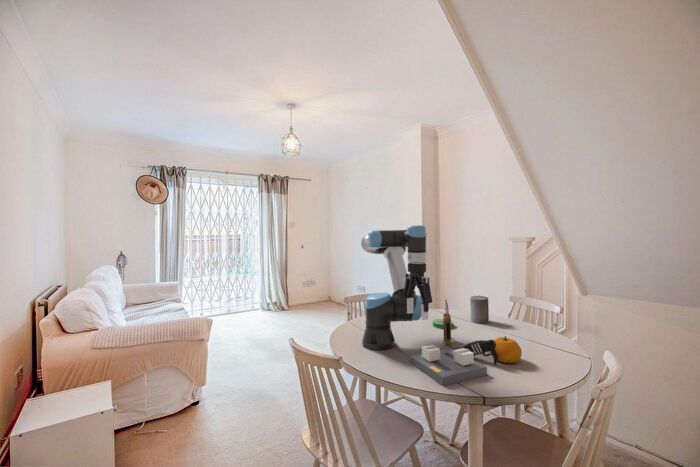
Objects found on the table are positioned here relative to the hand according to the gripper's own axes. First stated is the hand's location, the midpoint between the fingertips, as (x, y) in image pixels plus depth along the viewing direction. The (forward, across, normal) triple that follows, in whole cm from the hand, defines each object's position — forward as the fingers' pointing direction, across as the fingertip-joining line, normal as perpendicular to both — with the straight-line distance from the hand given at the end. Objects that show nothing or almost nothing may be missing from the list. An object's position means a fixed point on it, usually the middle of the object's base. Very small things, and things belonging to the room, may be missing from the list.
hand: (417, 316), depth 134 cm
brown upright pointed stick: (+18, -7, +26) cm, 32 cm away
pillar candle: (+18, -29, +62) cm, 70 cm away
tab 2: (+14, +17, +9) cm, 24 cm away
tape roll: (+18, -31, +38) cm, 52 cm away
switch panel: (+18, +13, +4) cm, 22 cm away
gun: (+18, +11, +21) cm, 30 cm away
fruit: (+18, +16, +31) cm, 40 cm away
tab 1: (+14, +9, 0) cm, 17 cm away
